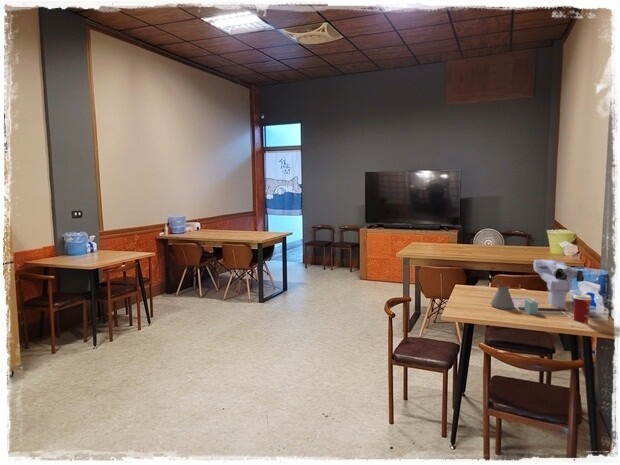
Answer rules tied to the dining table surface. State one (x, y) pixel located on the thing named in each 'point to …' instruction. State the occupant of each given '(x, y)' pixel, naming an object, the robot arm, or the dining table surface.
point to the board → (548, 312)
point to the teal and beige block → (531, 306)
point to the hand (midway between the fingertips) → (574, 278)
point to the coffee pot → (502, 297)
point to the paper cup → (581, 307)
